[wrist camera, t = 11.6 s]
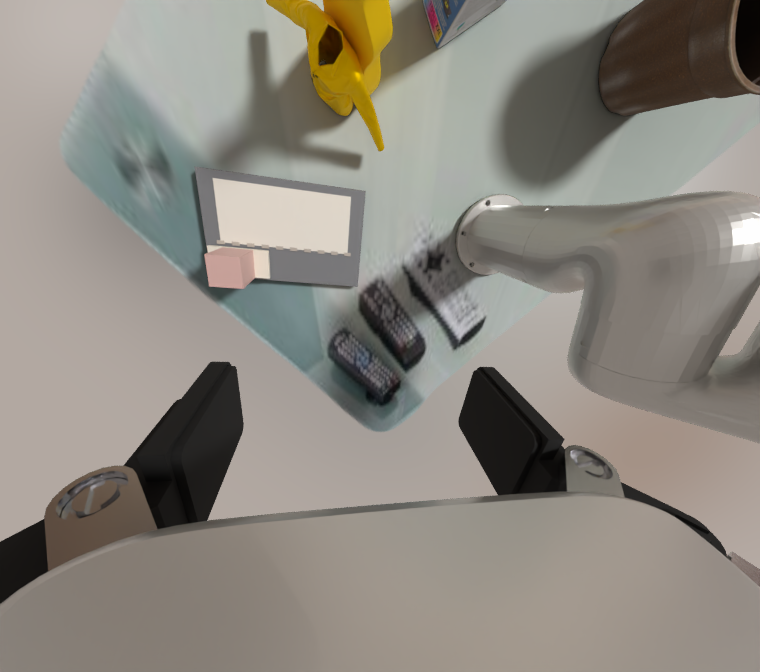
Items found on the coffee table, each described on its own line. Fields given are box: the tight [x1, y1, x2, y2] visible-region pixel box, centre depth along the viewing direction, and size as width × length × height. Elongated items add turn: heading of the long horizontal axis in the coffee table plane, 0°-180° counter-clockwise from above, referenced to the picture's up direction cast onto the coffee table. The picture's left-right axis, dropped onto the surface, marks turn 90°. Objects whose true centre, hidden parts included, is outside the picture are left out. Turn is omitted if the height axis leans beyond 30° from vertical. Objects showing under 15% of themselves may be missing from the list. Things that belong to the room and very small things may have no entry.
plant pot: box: [599, 0, 760, 116], centre depth 31 cm, size 16×16×16 cm
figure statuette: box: [266, 0, 393, 151], centre depth 24 cm, size 18×8×22 cm, turn 43°
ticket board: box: [195, 167, 365, 287], centre depth 40 cm, size 22×14×2 cm, turn 83°
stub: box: [204, 245, 270, 289], centre depth 37 cm, size 8×4×7 cm, turn 83°
